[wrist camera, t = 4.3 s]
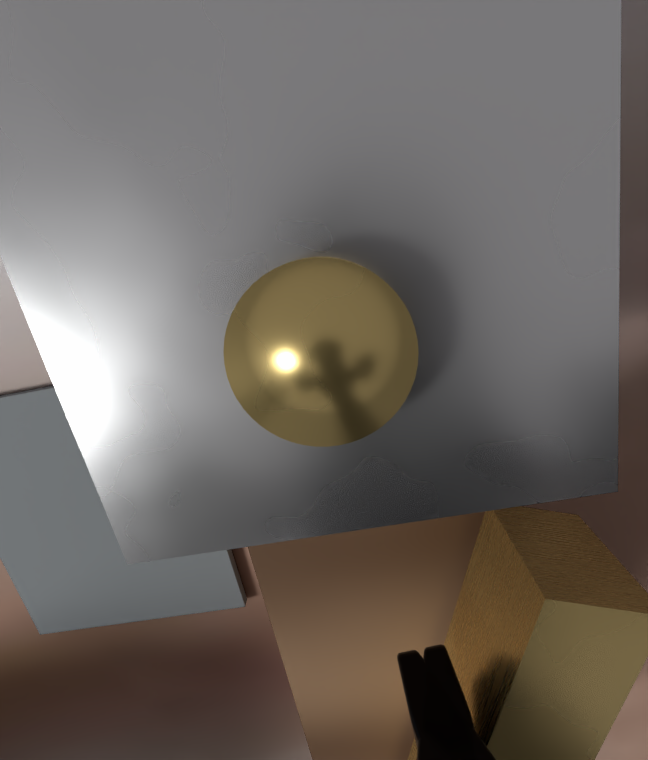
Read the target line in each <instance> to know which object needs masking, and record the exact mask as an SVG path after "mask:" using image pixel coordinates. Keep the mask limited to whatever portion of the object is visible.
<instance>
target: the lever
mask: <svg viewBox="0 0 648 760" xmlns="http://www.w3.org/2000/svg"><path fill="white" fill-rule="evenodd" d="M444 646H445V647H446V649H447V651H448V654H449V657H450V659H451V662H452V665H453V667H454V670H455V672H456V675H457V678H458V680H459V683H460V686H461V688H462V691H463V693H464V696H465V699H466V701H467V704H468V707H469V710H470V713H471V717H472V720H473V724H474V728H475V731H476V732H477V734H478V735H479V736H480V738H481V739H482V741H483V742H484V743H485V745H486V746H487V747H488V749H489V750H490V752H491V753H492V754H493V756H494V757H495V759H496V760H595V758H596V756H597V754H598V752H599V750H600V748H601V746H602V744H603V742H604V740H605V738H606V737H607V735H608V733H609V731H610V729H611V727H612V725H613V723H614V721H615V719H616V717H617V715H618V713H619V711H620V709H621V707H622V706H623V704H624V702H625V700H626V698H627V696H628V694H629V692H630V690H631V688H632V686H633V684H634V682H635V680H636V678H637V676H638V675H639V673H640V671H641V669H642V667H643V665H644V663H645V661H646V659H647V657H648V593H647V592H646V591H645V590H644V589H643V588H642V587H641V585H640V584H639V583H638V582H637V581H636V580H635V579H634V578H633V576H632V575H631V574H630V573H629V572H628V571H627V570H626V569H625V567H624V566H623V565H622V564H621V563H620V562H619V561H618V560H617V559H616V557H615V556H614V555H613V554H612V553H611V552H610V551H609V550H608V548H607V547H606V546H605V545H604V544H603V543H602V542H601V541H600V539H599V538H598V537H597V536H596V535H595V534H594V533H593V532H592V530H591V529H590V528H589V527H588V526H587V525H586V524H585V523H584V521H583V520H582V519H581V518H580V517H579V516H578V515H574V514H567V513H561V512H554V511H547V510H540V509H534V508H527V507H520V506H518V507H511V508H504V509H497V510H491V511H485V514H484V518H483V521H482V524H481V527H480V530H479V533H478V537H477V540H476V543H475V546H474V549H473V553H472V556H471V559H470V562H469V565H468V569H467V572H466V575H465V578H464V581H463V585H462V588H461V591H460V594H459V597H458V600H457V604H456V607H455V610H454V613H453V616H452V620H451V623H450V626H449V629H448V632H447V636H446V639H445V642H444ZM408 760H417V746H416V741H415V738H414V741H413V744H412V747H411V750H410V754H409V757H408Z"/></svg>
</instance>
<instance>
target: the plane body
mask: <svg viewBox="0 0 648 760" xmlns="http://www.w3.org/2000/svg"><path fill="white" fill-rule="evenodd" d="M484 514H485V511H484V512H477V513H471V514H464V515H457V516H451V517H444V518H437V519H430V520H424V521H417V522H410V523H404V524H397V525H390V526H383V527H377V528H370V529H363V530H357V531H350V532H343V533H337V534H330V535H323V536H316V537H310V538H303V539H296V540H290V541H283V542H276V543H269V544H263V545H256V546H249V547H248V549H249V553H250V556H251V559H252V563H253V566H254V569H255V572H256V576H257V579H258V582H259V586H260V589H261V592H262V595H263V599H264V602H265V605H266V609H267V612H268V615H269V618H270V622H271V625H272V628H273V631H274V635H275V638H276V641H277V645H278V648H279V651H280V654H281V658H282V661H283V664H284V668H285V671H286V674H287V677H288V681H289V684H290V687H291V690H292V694H293V697H294V700H295V704H296V707H297V710H298V713H299V717H300V720H301V723H302V727H303V730H304V733H305V736H306V740H307V743H308V746H309V750H310V753H311V756H312V759H313V760H408V757H409V754H410V750H411V747H412V744H413V741H414V738H415V737H414V733H413V728H412V724H411V720H410V715H409V711H408V706H407V702H406V697H405V693H404V688H403V684H402V679H401V674H400V670H399V665H398V661H397V655H398V653H401V652H405V651H410V650H416V651H418V652H419V653H420V655H421V656H422V658H423V655H424V649H425V648H426V647H430V646H434V645H439V644H442V645H444V642H445V639H446V636H447V632H448V629H449V626H450V623H451V620H452V616H453V613H454V610H455V607H456V604H457V600H458V597H459V594H460V591H461V588H462V585H463V581H464V578H465V575H466V572H467V569H468V565H469V562H470V559H471V556H472V553H473V549H474V546H475V543H476V540H477V537H478V533H479V530H480V527H481V524H482V521H483V518H484Z"/></svg>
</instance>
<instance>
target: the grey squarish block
mask: <svg viewBox="0 0 648 760" xmlns="http://www.w3.org/2000/svg"><path fill="white" fill-rule="evenodd" d="M620 122H621V0H0V257H1V259H2V262H3V264H4V267H5V269H6V271H7V274H8V276H9V279H10V281H11V284H12V286H13V288H14V291H15V293H16V296H17V298H18V300H19V303H20V305H21V308H22V310H23V313H24V315H25V317H26V320H27V322H28V325H29V327H30V330H31V332H32V334H33V337H34V339H35V342H36V344H37V347H38V349H39V351H40V354H41V356H42V359H43V361H44V363H45V366H46V368H47V371H48V373H49V376H50V378H51V380H52V383H53V385H54V388H55V390H56V393H57V395H58V397H59V400H60V402H61V405H62V407H63V410H64V412H65V414H66V417H67V419H68V422H69V424H70V426H71V429H72V431H73V434H74V436H75V439H76V441H77V443H78V446H79V448H80V451H81V453H82V456H83V458H84V460H85V463H86V465H87V468H88V470H89V473H90V475H91V477H92V480H93V482H94V485H95V487H96V490H97V492H98V494H99V497H100V499H101V502H102V504H103V506H104V509H105V511H106V514H107V516H108V519H109V521H110V523H111V526H112V528H113V531H114V533H115V536H116V538H117V540H118V543H119V545H120V548H121V550H122V553H123V555H124V557H125V560H126V562H127V565H129V564H135V563H142V562H149V561H155V560H162V559H169V558H176V557H182V556H189V555H196V554H202V553H209V552H216V551H223V550H229V549H236V548H243V547H249V546H256V545H263V544H269V543H276V542H283V541H290V540H296V539H303V538H310V537H316V536H323V535H330V534H337V533H343V532H350V531H357V530H363V529H370V528H377V527H383V526H390V525H397V524H404V523H410V522H417V521H424V520H430V519H437V518H444V517H451V516H457V515H464V514H471V513H477V512H484V511H491V510H497V509H504V508H511V507H518V506H524V505H531V504H538V503H544V502H551V501H558V500H565V499H571V498H578V497H585V496H591V495H598V494H605V493H612V492H618V396H619V259H620Z"/></svg>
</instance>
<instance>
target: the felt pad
mask: <svg viewBox="0 0 648 760" xmlns="http://www.w3.org/2000/svg"><path fill="white" fill-rule="evenodd" d="M0 558H1V560H2V562H3V564H4V566H5V568H6V570H7V572H8V574H9V576H10V577H11V579H12V581H13V583H14V585H15V587H16V589H17V591H18V593H19V595H20V597H21V599H22V601H23V603H24V604H25V606H26V608H27V610H28V612H29V614H30V616H31V618H32V620H33V622H34V624H35V626H36V628H37V629H38V631H39V633H40V634H48V633H55V632H62V631H70V630H77V629H84V628H92V627H99V626H106V625H114V624H121V623H129V622H136V621H143V620H151V619H158V618H165V617H173V616H180V615H187V614H195V613H202V612H209V611H217V610H224V609H231V608H239V607H245V605H246V601H247V597H246V594H245V591H244V588H243V585H242V582H241V579H240V575H239V572H238V569H237V566H236V563H235V560H234V557H233V554H232V550H231V549H229V550H223V551H216V552H209V553H202V554H196V555H189V556H182V557H176V558H169V559H162V560H155V561H149V562H142V563H135V564H129V565H127V562H126V560H125V557H124V555H123V553H122V550H121V548H120V545H119V543H118V540H117V538H116V536H115V533H114V531H113V528H112V526H111V523H110V521H109V519H108V516H107V514H106V511H105V509H104V506H103V504H102V502H101V499H100V497H99V494H98V492H97V490H96V487H95V485H94V482H93V480H92V477H91V475H90V473H89V470H88V468H87V465H86V463H85V460H84V458H83V456H82V453H81V451H80V448H79V446H78V443H77V441H76V439H75V436H74V434H73V431H72V429H71V426H70V424H69V422H68V419H67V417H66V414H65V412H64V410H63V407H62V405H61V402H60V400H59V397H58V395H57V393H56V390H55V388H54V386H49V387H44V388H38V389H33V390H28V391H23V392H18V393H12V394H7V395H2V396H0Z"/></svg>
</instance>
